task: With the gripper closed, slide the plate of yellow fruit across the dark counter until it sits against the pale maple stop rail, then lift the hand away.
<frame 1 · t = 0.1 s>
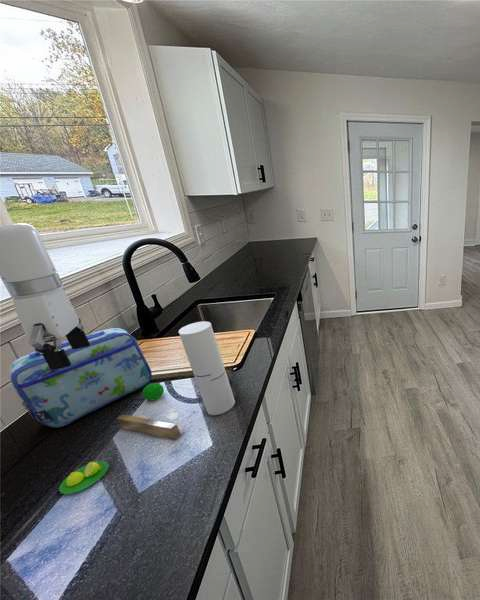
hand: (72, 356, 71), 24 cm above the counter, tool pointing down, fingers open, 9 cm apart
polyhedron: (156, 398, 94), on the counter
lunch box: (101, 403, 93), on the counter
stop rail: (151, 431, 81), on the counter
cylindrical container: (221, 406, 89), on the counter
plate of yellow fruit: (86, 479, 69), on the counter
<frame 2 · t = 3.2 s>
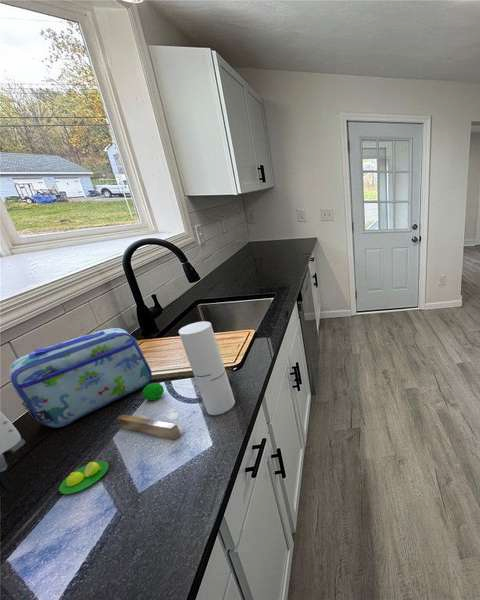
hand: (2, 490, 56), 9 cm above the counter, tool pointing down, fingers closed
nothing on the counter moved.
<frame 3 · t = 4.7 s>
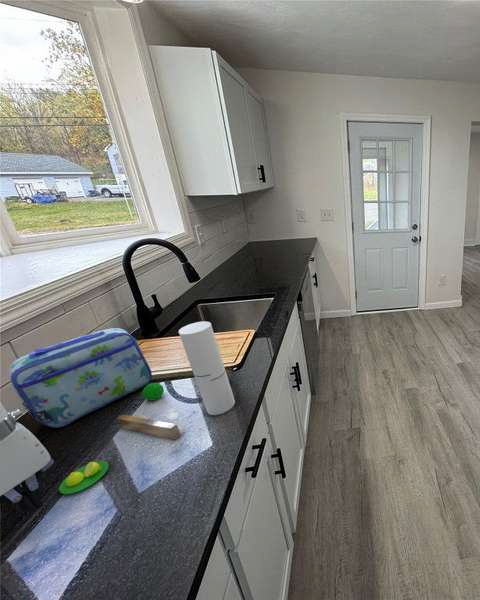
hand: (33, 507, 61), 2 cm above the counter, tool pointing down, fingers closed
nothing on the counter moved.
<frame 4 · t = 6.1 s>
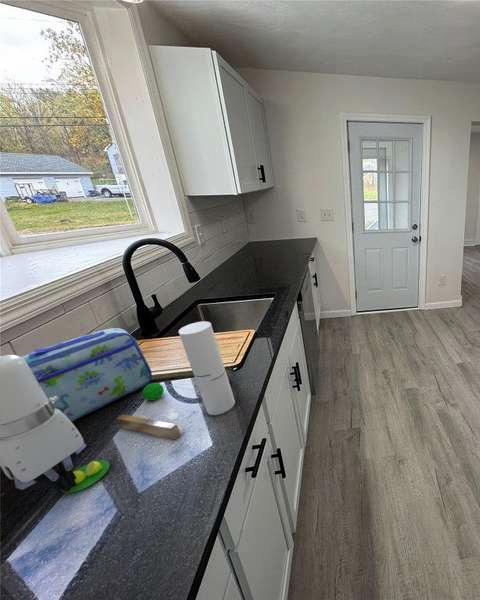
hand: (67, 486, 66), 1 cm above the counter, tool pointing down, fingers closed
plate of yellow fruit: (87, 478, 69), on the counter, touching gripper
everything else where it was.
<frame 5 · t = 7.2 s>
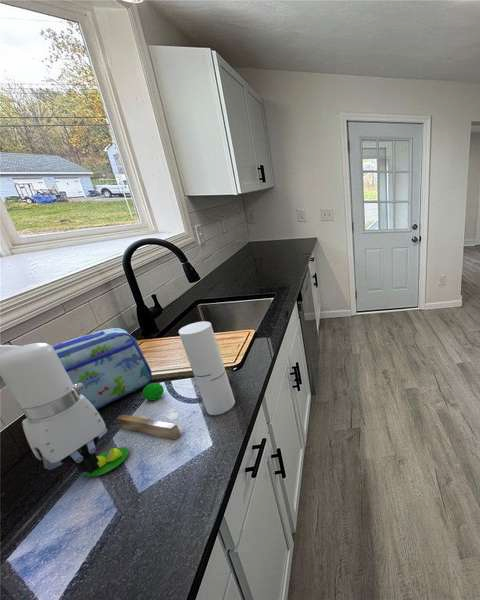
hand: (90, 469, 69), 1 cm above the counter, tool pointing down, fingers closed
plate of yellow fruit: (108, 463, 72), on the counter, touching gripper
everything else where it was.
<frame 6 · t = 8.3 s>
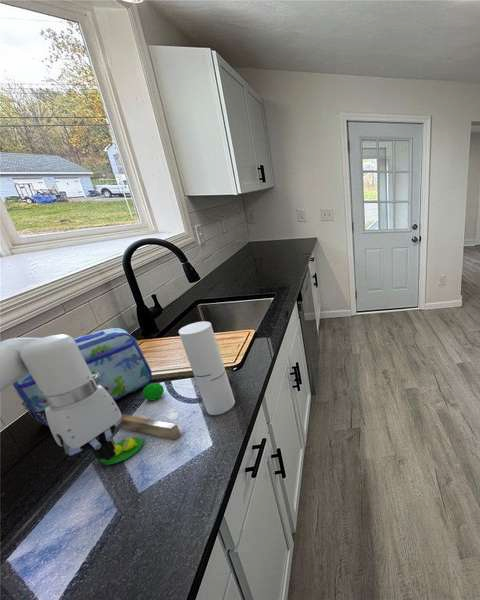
hand: (107, 456, 72), 1 cm above the counter, tool pointing down, fingers closed
plate of yellow fruit: (123, 452, 75), on the counter, touching gripper
everything else where it was.
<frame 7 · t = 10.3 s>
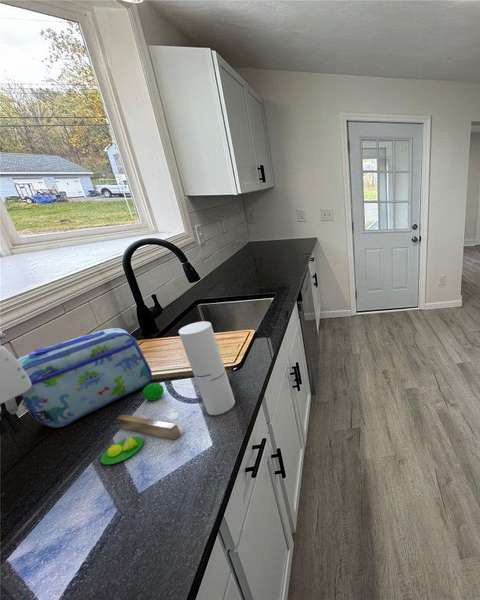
hand: (11, 432, 61), 16 cm above the counter, tool pointing down, fingers closed
plate of yellow fruit: (123, 452, 75), on the counter
everything else where it was.
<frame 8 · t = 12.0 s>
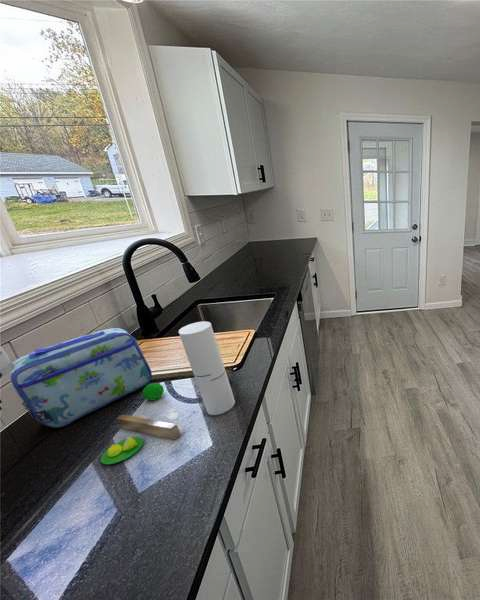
nothing on the counter moved.
at the end: plate of yellow fruit inside the target area (1.1 cm from its centre), on the counter; plate of yellow fruit moved 7.5 cm from its start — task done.
